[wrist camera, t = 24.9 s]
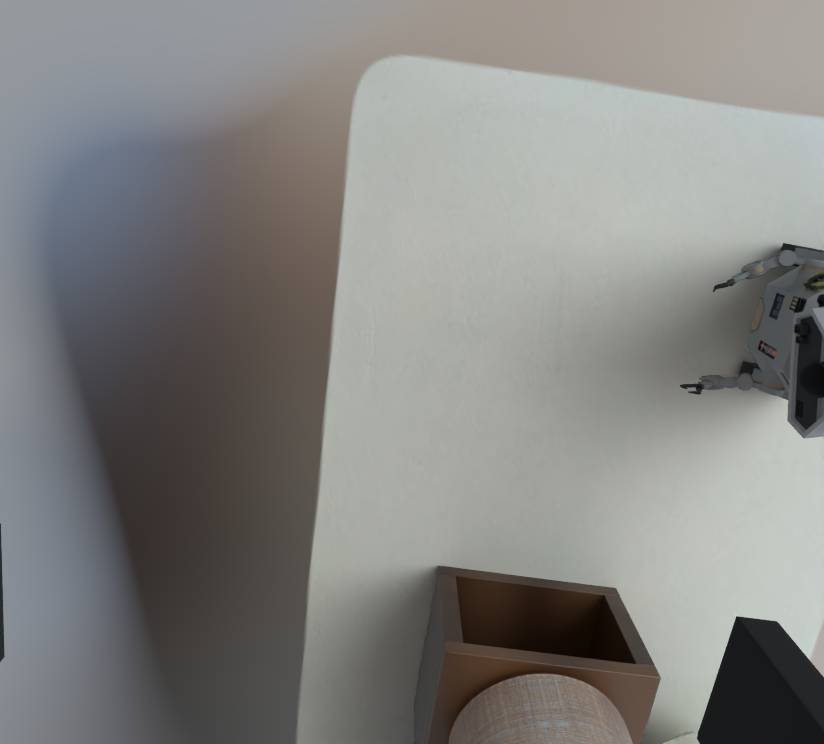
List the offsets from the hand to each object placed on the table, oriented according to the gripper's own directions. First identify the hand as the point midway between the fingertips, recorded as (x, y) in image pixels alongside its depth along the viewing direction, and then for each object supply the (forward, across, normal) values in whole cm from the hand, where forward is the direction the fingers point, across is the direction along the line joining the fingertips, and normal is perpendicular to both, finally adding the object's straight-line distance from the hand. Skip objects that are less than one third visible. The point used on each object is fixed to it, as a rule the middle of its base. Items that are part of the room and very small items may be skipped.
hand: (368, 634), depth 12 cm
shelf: (+32, +12, -24) cm, 42 cm away
